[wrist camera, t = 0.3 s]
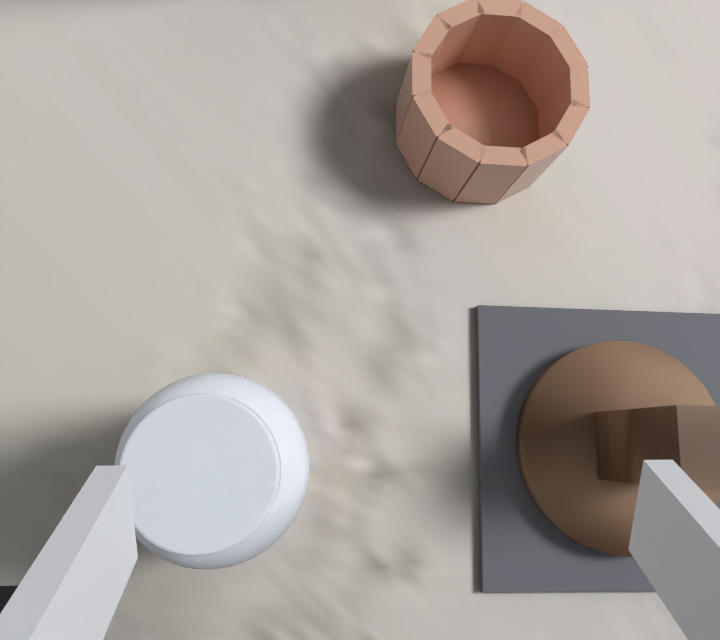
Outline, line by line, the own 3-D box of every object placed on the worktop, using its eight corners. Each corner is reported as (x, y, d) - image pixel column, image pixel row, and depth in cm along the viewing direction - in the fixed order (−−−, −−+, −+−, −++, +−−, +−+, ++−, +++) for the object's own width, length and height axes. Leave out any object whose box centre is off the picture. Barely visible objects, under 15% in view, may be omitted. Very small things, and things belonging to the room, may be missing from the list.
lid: (720, 552, 33) (859, 589, 25) (518, 553, 32) (595, 592, 24) (704, 346, 35) (828, 319, 27) (512, 341, 34) (582, 310, 26)
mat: (752, 588, 33) (757, 590, 33) (480, 590, 32) (483, 592, 31) (728, 316, 35) (733, 314, 35) (476, 306, 34) (478, 305, 34)
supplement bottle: (294, 540, 31) (295, 609, 19) (153, 524, 31) (56, 583, 18) (313, 400, 32) (326, 376, 20) (178, 382, 32) (105, 346, 19)
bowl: (551, 206, 36) (593, 169, 31) (395, 198, 35) (412, 159, 30) (545, 62, 37) (584, 5, 32) (396, 51, 36) (412, -9, 31)
